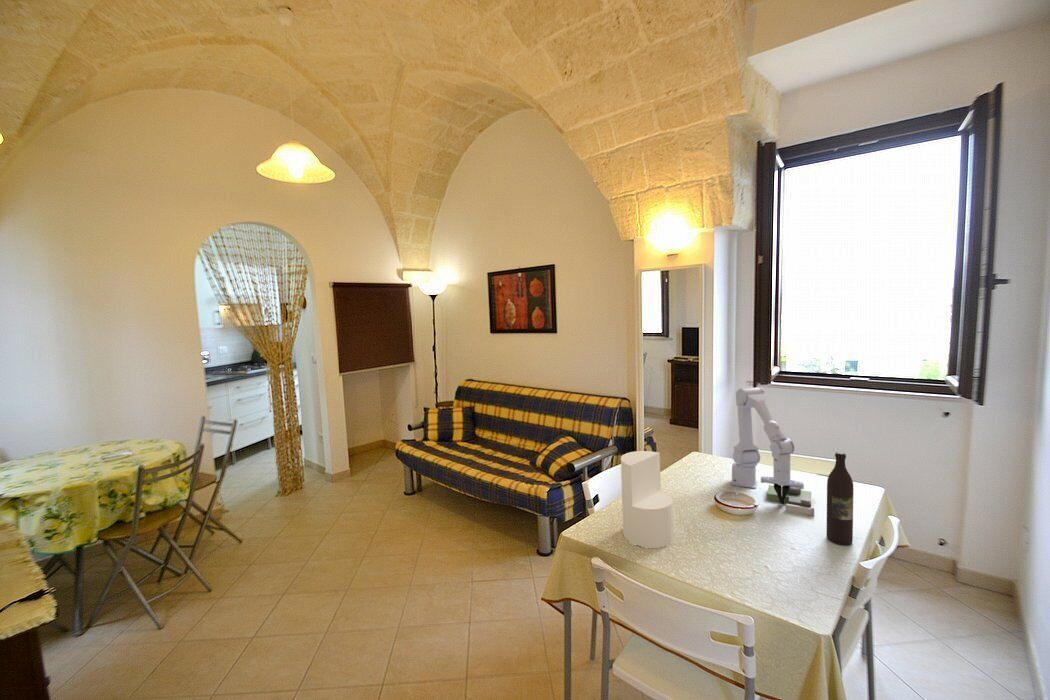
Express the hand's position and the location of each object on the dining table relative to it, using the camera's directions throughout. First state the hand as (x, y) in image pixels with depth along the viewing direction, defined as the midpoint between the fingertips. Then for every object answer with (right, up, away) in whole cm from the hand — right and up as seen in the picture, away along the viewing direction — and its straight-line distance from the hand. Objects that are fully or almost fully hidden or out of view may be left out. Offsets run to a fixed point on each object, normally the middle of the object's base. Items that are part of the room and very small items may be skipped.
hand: (781, 502), depth 170 cm
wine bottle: (+4, -3, -26) cm, 27 cm away
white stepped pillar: (-58, -6, -17) cm, 61 cm away
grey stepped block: (+5, -1, -3) cm, 6 cm away
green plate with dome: (+4, -1, +2) cm, 5 cm away
